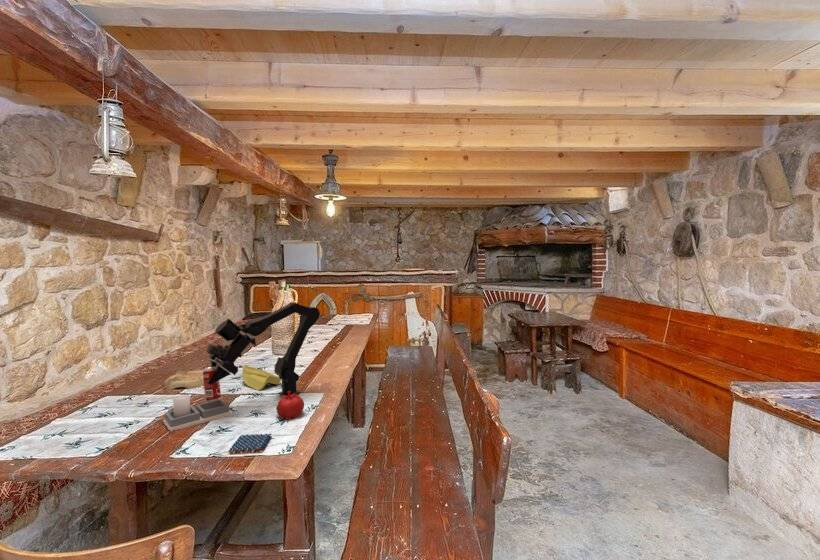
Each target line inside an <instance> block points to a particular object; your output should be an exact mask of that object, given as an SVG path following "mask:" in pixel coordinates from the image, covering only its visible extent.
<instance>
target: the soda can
mask: <svg viewBox="0 0 820 560" xmlns="http://www.w3.org/2000/svg"><path fill="white" fill-rule="evenodd" d="M202 370H204V371H203V380H204V386H203V388H204V396H205V397H204V398H205V402H213V401H217V400H219V399H222V395H221V385H220V384H221V383H220V380H218V381H216V382H215V383H213V384H211V385H210V384H208V382H209V380H210V379H211V377H212V376H213V374H214V373H215V371H216V367H211V366H210V367H205V368H203V369H202Z"/></svg>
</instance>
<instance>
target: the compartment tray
mask: <svg viewBox="0 0 820 560" xmlns="http://www.w3.org/2000/svg"><path fill="white" fill-rule="evenodd" d="M172 402H173V408H172V409H173V410H170V411H166V412H164V418H163V424H164V425H165V427H166V426H167V427H166V428H167V429H168V431H169V430H170V431H171V432H174V431H173V430H175V431H178V429H179V430H182V429H185V428H189V427H194V426H197V425H200V424H203V423H207V422H211V421H215V420H217V419H221V418H225V417H228V416H229V417H230V416H232V411H231V410H230V405H229V403H227V402H226V401H224V400H223V399H222V398H220V399H219V400H217V401H213V402H207V401H205V402H203V403H199V404H196V405H195V406H194V405H191V396H190V395H188V394H182V395H178V396H175V397H174V398H172ZM170 431H169V432H170Z"/></svg>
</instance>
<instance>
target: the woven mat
mask: <svg viewBox="0 0 820 560" xmlns="http://www.w3.org/2000/svg"><path fill="white" fill-rule="evenodd" d="M271 435H272V433H265V434H262V433H259V434H258V433H257V434H253V433H252V434H241V435H240V436H239V437H238V438H237V439H236V440H235V442H234V443H233V444H232V446H231V447H230V448H229V449H228V453H229V455H232V454H233V455H235V454H236V455H239V454H247V453H248V454H250V453H251V454H254V453H255V454H257V453H258V452H259V453H263V451H265V449H266V447H267V446H268V444H269V443H270V440H271V439H272V438H273V436H271Z"/></svg>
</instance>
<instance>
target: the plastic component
mask: <svg viewBox="0 0 820 560" xmlns="http://www.w3.org/2000/svg"><path fill="white" fill-rule="evenodd" d="M241 375H242V380H243V383H244V384H245V385H246V386H247V387H250V388H252V389H254V390H255V391H261V390H263V389H264V388H265V387H266V385H267V384H272V385H276V386H279V385H280V384H281V383H282V379H280V378H279V376H278V375H276V374H275V375H274V374H273V373H269V372H267V371H266V370H265V371H264V370H262V369H259V368H255V367H252V366H249V365H244V366H243V367H242V372H241Z"/></svg>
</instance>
